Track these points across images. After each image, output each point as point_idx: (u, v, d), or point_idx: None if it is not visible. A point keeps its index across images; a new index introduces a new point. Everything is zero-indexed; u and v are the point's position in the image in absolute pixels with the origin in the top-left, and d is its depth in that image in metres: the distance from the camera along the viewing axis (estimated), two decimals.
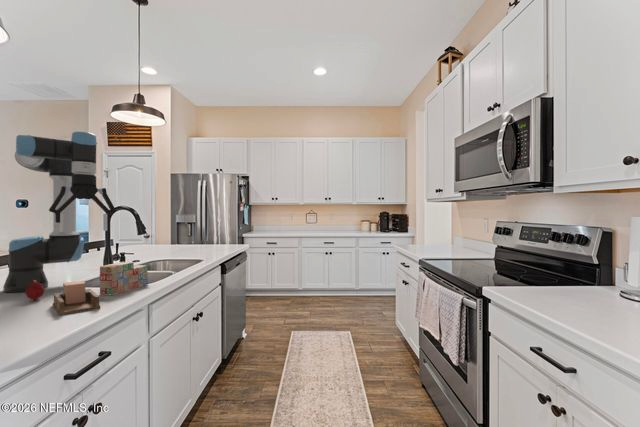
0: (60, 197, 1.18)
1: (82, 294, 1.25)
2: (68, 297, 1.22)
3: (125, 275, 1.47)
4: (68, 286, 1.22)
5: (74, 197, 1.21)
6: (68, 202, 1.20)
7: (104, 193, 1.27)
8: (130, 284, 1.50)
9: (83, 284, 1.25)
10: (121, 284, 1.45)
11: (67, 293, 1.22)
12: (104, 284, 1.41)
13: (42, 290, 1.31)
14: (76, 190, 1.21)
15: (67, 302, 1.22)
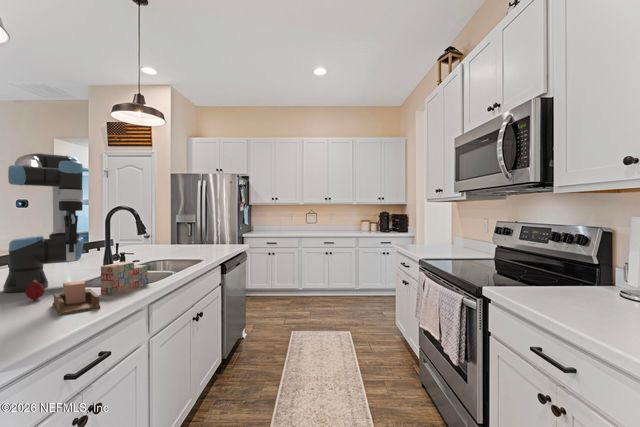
0: (65, 227, 1.33)
1: (82, 294, 1.25)
2: (68, 297, 1.22)
3: (126, 275, 1.48)
4: (68, 286, 1.22)
5: (65, 224, 1.31)
6: (66, 231, 1.31)
7: (69, 223, 1.27)
8: (131, 284, 1.51)
9: (83, 284, 1.25)
10: (122, 284, 1.45)
11: (67, 293, 1.22)
12: (105, 283, 1.41)
13: (42, 290, 1.31)
14: (66, 215, 1.32)
15: (67, 302, 1.22)
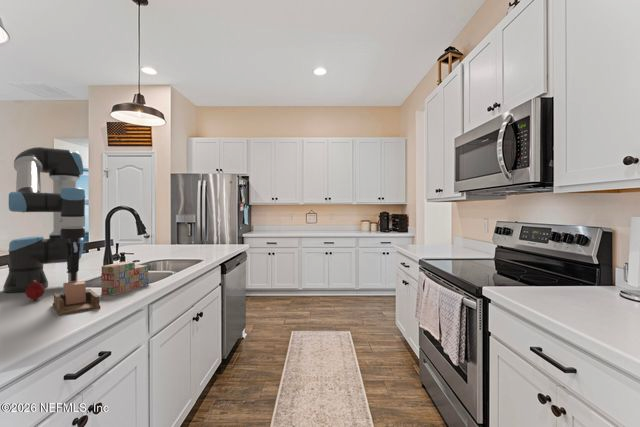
0: (66, 255, 1.30)
1: (82, 294, 1.25)
2: (68, 298, 1.22)
3: (127, 275, 1.48)
4: (68, 286, 1.22)
5: (66, 252, 1.27)
6: (68, 258, 1.28)
7: (71, 251, 1.24)
8: (131, 284, 1.51)
9: (83, 284, 1.25)
10: (123, 284, 1.46)
11: (67, 293, 1.21)
12: (105, 283, 1.41)
13: (42, 290, 1.31)
14: (68, 242, 1.29)
15: (67, 302, 1.21)
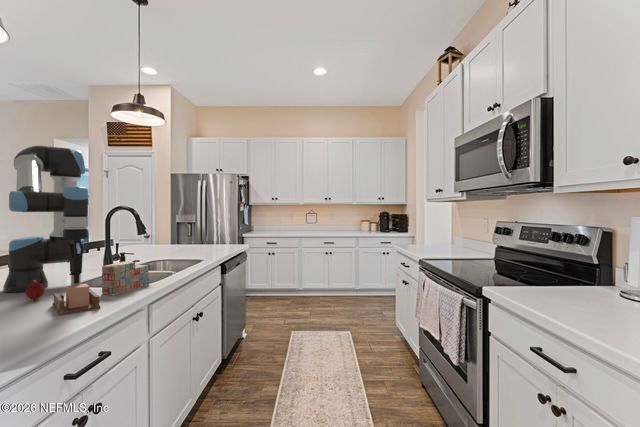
0: (69, 256, 1.25)
1: (86, 298, 1.20)
2: (71, 301, 1.17)
3: (127, 275, 1.48)
4: (71, 289, 1.17)
5: (69, 253, 1.23)
6: (71, 260, 1.23)
7: (74, 253, 1.19)
8: (132, 284, 1.51)
9: (87, 287, 1.20)
10: (123, 284, 1.46)
11: (70, 297, 1.17)
12: (106, 283, 1.42)
13: (42, 290, 1.31)
14: (71, 243, 1.24)
15: (70, 306, 1.17)
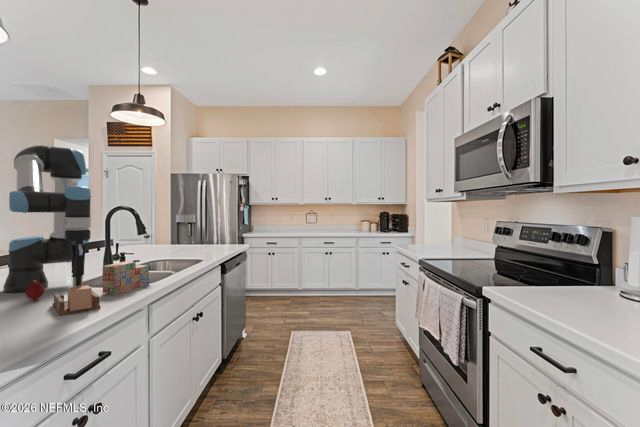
0: (71, 257, 1.23)
1: (88, 300, 1.17)
2: (73, 303, 1.14)
3: (128, 274, 1.48)
4: (73, 291, 1.14)
5: (71, 255, 1.20)
6: (73, 261, 1.21)
7: (76, 254, 1.16)
8: (132, 284, 1.51)
9: (89, 289, 1.18)
10: (124, 284, 1.46)
11: (72, 299, 1.14)
12: (107, 283, 1.42)
13: (42, 290, 1.31)
14: (73, 244, 1.21)
15: (72, 308, 1.14)
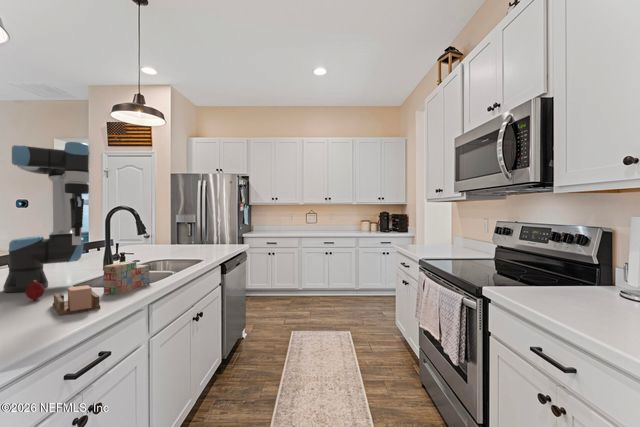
0: (71, 211, 1.29)
1: (88, 300, 1.17)
2: (73, 303, 1.14)
3: (128, 274, 1.48)
4: (73, 291, 1.14)
5: (70, 207, 1.27)
6: (72, 214, 1.27)
7: (75, 206, 1.23)
8: (133, 284, 1.52)
9: (89, 289, 1.18)
10: (125, 283, 1.46)
11: (72, 299, 1.14)
12: (108, 283, 1.42)
13: (42, 290, 1.31)
14: (72, 198, 1.28)
15: (72, 308, 1.14)
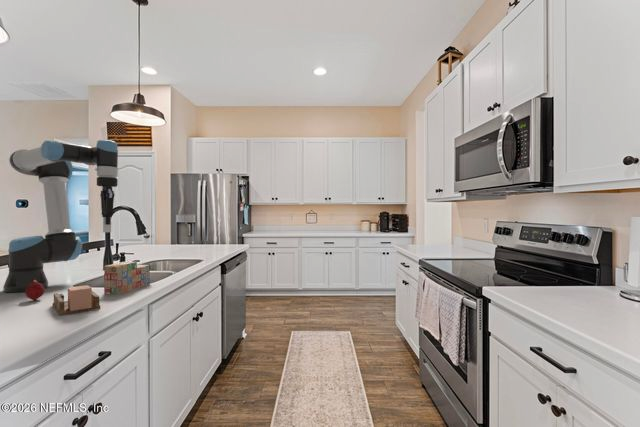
0: (101, 202, 1.44)
1: (88, 300, 1.17)
2: (73, 303, 1.14)
3: (129, 274, 1.49)
4: (73, 291, 1.14)
5: (101, 199, 1.42)
6: (103, 205, 1.42)
7: (106, 197, 1.38)
8: (134, 284, 1.52)
9: (89, 289, 1.18)
10: (126, 283, 1.47)
11: (72, 299, 1.14)
12: (108, 283, 1.42)
13: (42, 290, 1.31)
14: (103, 190, 1.43)
15: (72, 308, 1.14)
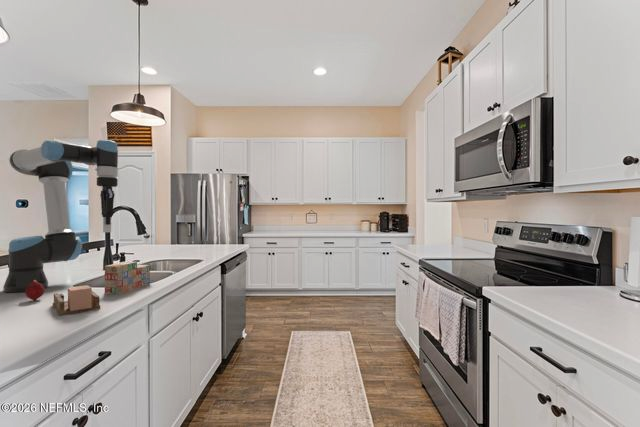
0: (101, 202, 1.44)
1: (88, 300, 1.17)
2: (73, 303, 1.14)
3: (129, 274, 1.49)
4: (73, 291, 1.14)
5: (101, 199, 1.42)
6: (103, 205, 1.42)
7: (106, 197, 1.38)
8: (134, 284, 1.52)
9: (89, 289, 1.18)
10: (126, 283, 1.47)
11: (72, 299, 1.14)
12: (109, 283, 1.42)
13: (42, 290, 1.31)
14: (103, 190, 1.43)
15: (72, 308, 1.14)
